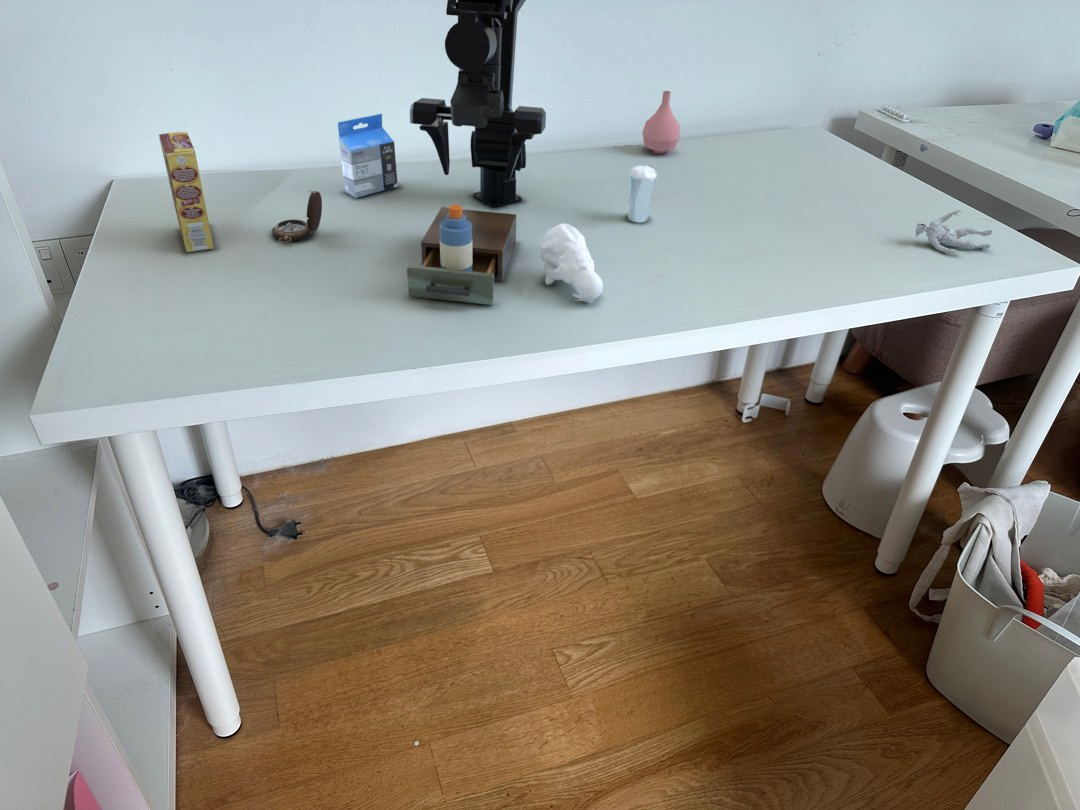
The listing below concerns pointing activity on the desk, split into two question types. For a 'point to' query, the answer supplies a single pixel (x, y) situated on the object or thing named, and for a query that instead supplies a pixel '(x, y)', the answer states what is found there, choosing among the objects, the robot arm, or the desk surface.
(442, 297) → the drawer
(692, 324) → the desk surface
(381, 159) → the label tape box
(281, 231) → the compass
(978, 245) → the soldier figure
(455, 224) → the glue bottle
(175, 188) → the candy box
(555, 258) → the white animal figurine
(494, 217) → the drawer unit
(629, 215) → the milkshake
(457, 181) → the desk surface
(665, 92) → the pink vase
